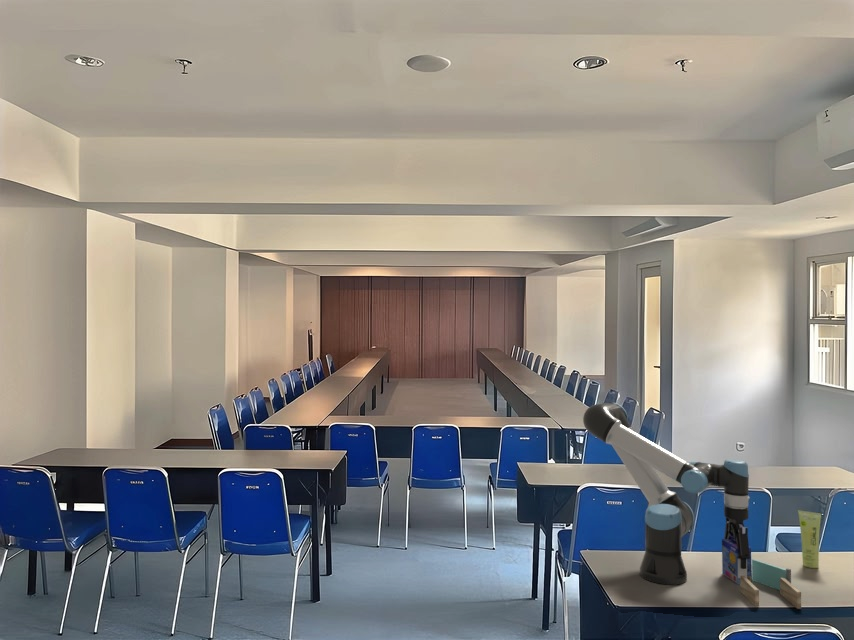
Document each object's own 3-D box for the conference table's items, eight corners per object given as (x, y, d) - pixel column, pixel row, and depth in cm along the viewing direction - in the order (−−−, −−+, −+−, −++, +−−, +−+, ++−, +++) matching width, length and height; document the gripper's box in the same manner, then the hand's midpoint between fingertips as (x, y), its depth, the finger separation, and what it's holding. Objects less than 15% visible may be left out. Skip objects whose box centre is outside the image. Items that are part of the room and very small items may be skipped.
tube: (805, 568, 235) (805, 513, 236) (798, 563, 240) (797, 509, 241) (821, 568, 235) (821, 513, 235) (813, 564, 240) (813, 510, 240)
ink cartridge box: (720, 573, 228) (720, 531, 229) (736, 573, 229) (736, 531, 229) (736, 584, 218) (736, 540, 219) (752, 584, 219) (752, 540, 219)
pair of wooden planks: (754, 606, 200) (754, 589, 201) (740, 591, 212) (740, 575, 213) (801, 608, 199) (801, 592, 199) (784, 593, 211) (784, 577, 211)
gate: (792, 593, 211) (792, 569, 212) (789, 593, 211) (789, 570, 211) (754, 579, 223) (754, 557, 223) (751, 580, 222) (751, 558, 223)
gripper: (761, 515, 213) (761, 584, 212) (735, 498, 235) (735, 561, 234) (736, 514, 213) (737, 583, 213) (714, 497, 236) (714, 560, 235)
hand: (736, 572), depth 224 cm, fingers closed on ink cartridge box, 10 cm apart
